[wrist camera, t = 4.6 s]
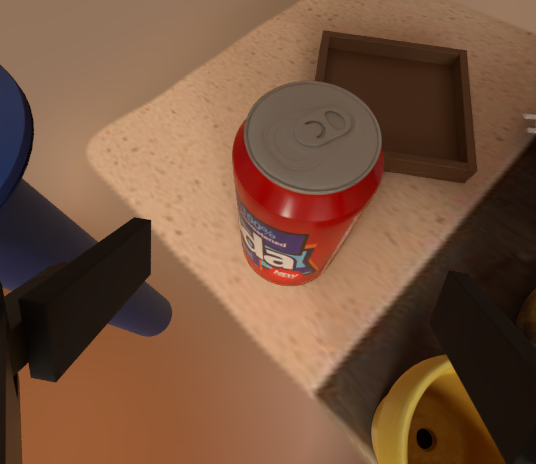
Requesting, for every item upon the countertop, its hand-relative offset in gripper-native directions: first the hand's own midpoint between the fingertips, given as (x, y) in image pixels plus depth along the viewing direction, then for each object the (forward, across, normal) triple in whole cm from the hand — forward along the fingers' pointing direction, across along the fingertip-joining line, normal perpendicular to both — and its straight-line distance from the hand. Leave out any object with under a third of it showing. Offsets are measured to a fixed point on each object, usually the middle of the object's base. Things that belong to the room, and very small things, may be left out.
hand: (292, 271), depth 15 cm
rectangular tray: (+26, +8, +7) cm, 28 cm away
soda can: (+14, 0, -5) cm, 15 cm away
